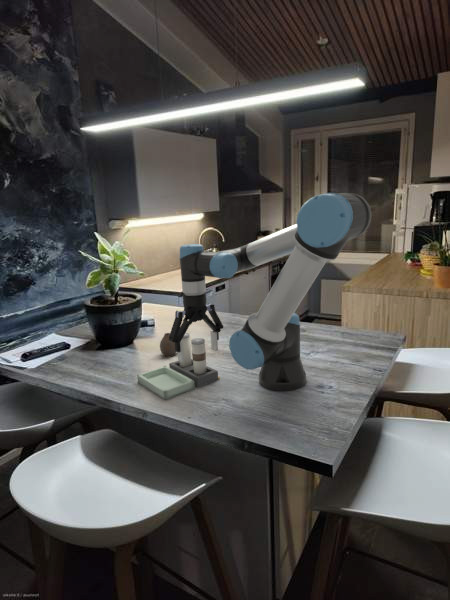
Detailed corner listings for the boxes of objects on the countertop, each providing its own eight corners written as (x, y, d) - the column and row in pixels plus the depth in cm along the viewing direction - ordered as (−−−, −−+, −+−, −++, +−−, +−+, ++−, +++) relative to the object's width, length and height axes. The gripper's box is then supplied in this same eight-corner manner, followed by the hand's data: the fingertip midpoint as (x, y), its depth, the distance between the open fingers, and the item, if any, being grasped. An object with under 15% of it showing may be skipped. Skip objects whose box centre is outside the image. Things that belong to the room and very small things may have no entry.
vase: (157, 356, 160) (155, 335, 158) (167, 350, 166) (165, 330, 164) (171, 358, 157) (169, 337, 155) (181, 352, 163) (179, 332, 161)
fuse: (194, 371, 144) (191, 334, 140) (184, 375, 141) (181, 337, 138) (187, 368, 147) (184, 331, 144) (177, 371, 144) (174, 334, 141)
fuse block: (219, 378, 136) (219, 370, 136) (198, 386, 131) (198, 378, 130) (190, 364, 150) (189, 357, 149) (169, 371, 145) (169, 363, 144)
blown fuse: (210, 379, 137) (207, 340, 133) (199, 383, 134) (196, 343, 131) (202, 375, 140) (199, 337, 137) (191, 379, 137) (188, 340, 134)
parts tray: (194, 388, 130) (194, 380, 130) (165, 399, 124) (164, 391, 123) (166, 372, 144) (165, 365, 144) (138, 382, 138) (137, 374, 137)
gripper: (217, 285, 141) (221, 343, 146) (154, 298, 126) (159, 362, 131) (231, 288, 135) (234, 348, 140) (166, 301, 120) (172, 368, 125)
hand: (198, 355), depth 135 cm, fingers open, 13 cm apart
